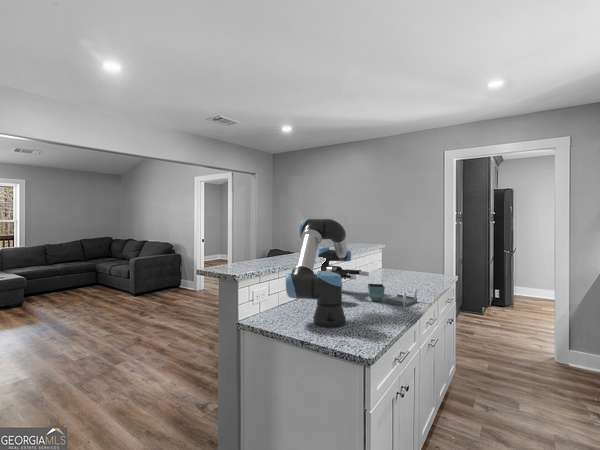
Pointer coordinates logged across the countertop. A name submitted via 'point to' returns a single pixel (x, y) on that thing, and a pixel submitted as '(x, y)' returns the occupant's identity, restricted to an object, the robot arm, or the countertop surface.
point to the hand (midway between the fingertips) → (362, 275)
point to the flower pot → (376, 291)
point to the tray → (403, 299)
